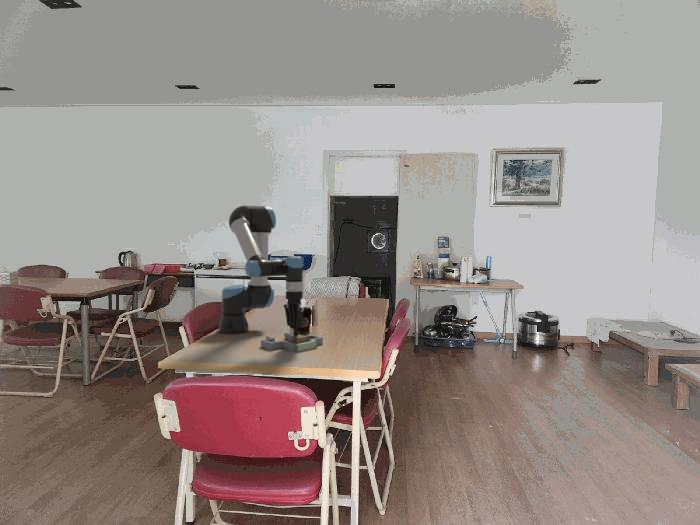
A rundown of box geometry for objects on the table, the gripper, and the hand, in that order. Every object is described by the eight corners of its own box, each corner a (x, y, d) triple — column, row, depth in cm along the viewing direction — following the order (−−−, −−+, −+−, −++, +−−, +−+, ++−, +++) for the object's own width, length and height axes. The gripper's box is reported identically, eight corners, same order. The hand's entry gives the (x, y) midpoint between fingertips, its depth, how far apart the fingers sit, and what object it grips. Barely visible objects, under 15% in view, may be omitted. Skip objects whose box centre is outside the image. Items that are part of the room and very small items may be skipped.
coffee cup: (309, 335, 240) (309, 309, 239) (293, 334, 241) (293, 308, 240) (314, 331, 248) (314, 306, 247) (298, 330, 250) (298, 305, 249)
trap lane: (254, 344, 220) (254, 338, 219) (296, 336, 236) (296, 330, 236) (284, 354, 203) (284, 347, 203) (327, 345, 220) (327, 338, 220)
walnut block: (290, 347, 216) (290, 336, 215) (299, 345, 219) (299, 334, 219) (297, 349, 212) (297, 338, 212) (306, 347, 216) (306, 336, 215)
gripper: (278, 289, 218) (279, 340, 220) (296, 292, 209) (296, 345, 211) (292, 288, 223) (292, 338, 225) (309, 291, 214) (309, 343, 216)
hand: (294, 341), depth 218 cm, fingers closed
